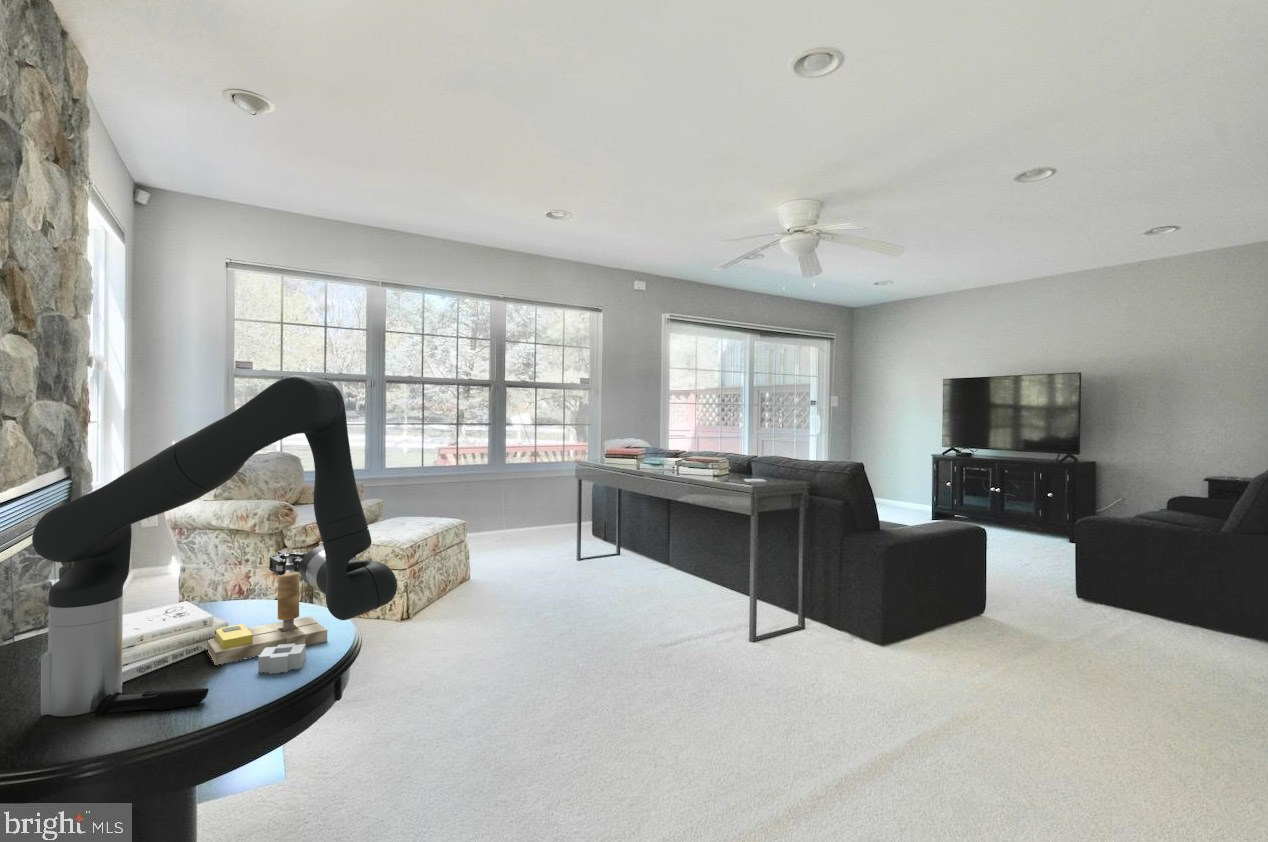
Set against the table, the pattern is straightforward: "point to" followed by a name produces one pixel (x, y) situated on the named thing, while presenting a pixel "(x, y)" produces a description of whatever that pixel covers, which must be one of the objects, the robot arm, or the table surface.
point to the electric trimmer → (151, 700)
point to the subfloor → (269, 640)
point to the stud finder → (233, 636)
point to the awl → (288, 599)
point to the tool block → (281, 658)
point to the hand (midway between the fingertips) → (303, 553)
